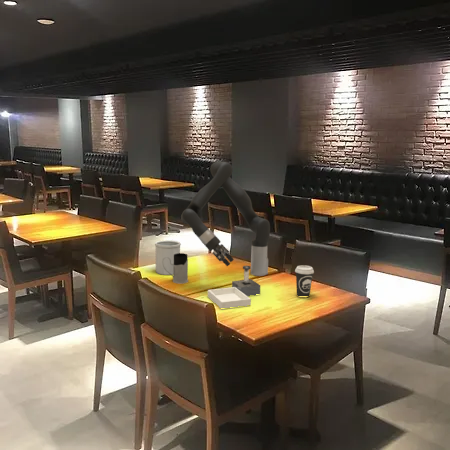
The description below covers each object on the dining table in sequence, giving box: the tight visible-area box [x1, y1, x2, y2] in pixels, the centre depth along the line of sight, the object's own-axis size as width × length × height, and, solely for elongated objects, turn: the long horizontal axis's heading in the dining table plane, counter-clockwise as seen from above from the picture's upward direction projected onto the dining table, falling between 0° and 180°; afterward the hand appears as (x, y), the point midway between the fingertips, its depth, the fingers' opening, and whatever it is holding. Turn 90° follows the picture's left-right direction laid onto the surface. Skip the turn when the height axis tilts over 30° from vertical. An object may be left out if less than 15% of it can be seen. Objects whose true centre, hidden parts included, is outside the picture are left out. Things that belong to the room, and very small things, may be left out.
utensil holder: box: [154, 239, 182, 276], centre depth 292 cm, size 15×15×18 cm
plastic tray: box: [207, 286, 252, 309], centre depth 246 cm, size 15×19×4 cm
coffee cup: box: [294, 264, 315, 297], centre depth 255 cm, size 10×10×15 cm
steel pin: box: [242, 265, 251, 285], centre depth 258 cm, size 4×4×14 cm
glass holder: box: [163, 252, 189, 285], centre depth 274 cm, size 9×14×15 cm, turn 94°
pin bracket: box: [231, 278, 261, 297], centre depth 259 cm, size 11×11×5 cm
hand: (230, 263), depth 258 cm, fingers open, 8 cm apart
